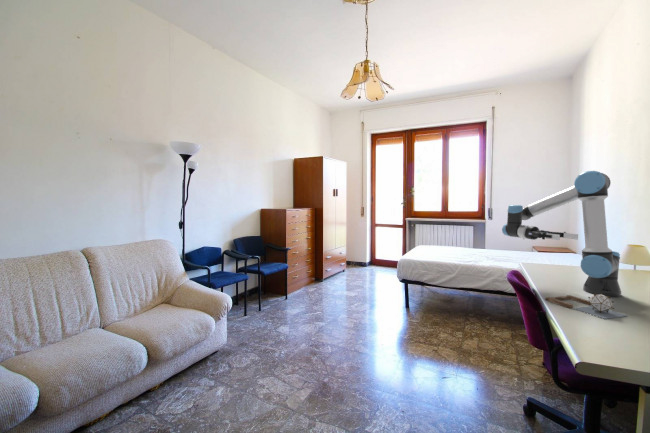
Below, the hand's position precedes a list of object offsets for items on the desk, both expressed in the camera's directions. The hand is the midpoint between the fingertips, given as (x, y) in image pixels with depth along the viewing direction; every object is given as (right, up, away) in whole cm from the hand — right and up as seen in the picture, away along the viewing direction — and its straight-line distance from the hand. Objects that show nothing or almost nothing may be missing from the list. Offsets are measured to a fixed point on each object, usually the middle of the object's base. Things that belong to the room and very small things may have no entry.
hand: (568, 237), depth 155 cm
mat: (-4, -32, -22) cm, 39 cm away
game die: (-4, -31, -22) cm, 39 cm away
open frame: (-8, -31, -10) cm, 33 cm away
